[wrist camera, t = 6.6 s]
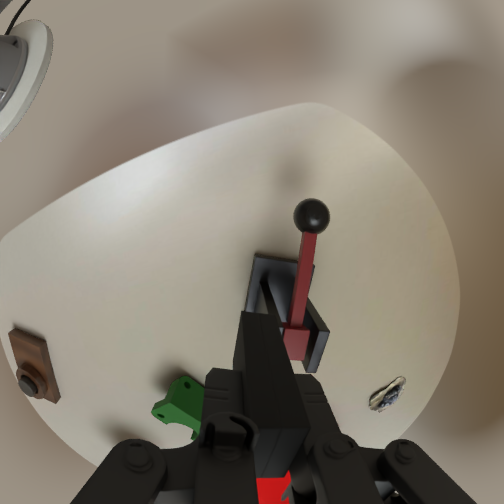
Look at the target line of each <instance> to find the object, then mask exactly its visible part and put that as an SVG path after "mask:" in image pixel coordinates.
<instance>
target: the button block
mask: <svg viewBox="0 0 504 504" xmlns="http://www.w3.org/2000/svg"><path fill="white" fill-rule="evenodd" d="M8 335H9V339H10V342H11V346H12V350H13V353H14V357H15V360H16V363H17V366H18V369H17V372H16V376H17V379H18V382H19V380H20V379H21V378H22V377H23V376H24V375H26V376H28V377H29V378H30V379H31V380H32V381H33V382H34V383H35V385H36V386H37V388H38V391H37V392H36V393H35V395H34V396H33V397H35V398H37V399H43V398H44V399H46V400H49V401H51V402H53V403H55V404H56V403H57V402H58V400H59V399H60V397H61V396H60V393H59V390H58V387H57V383H56V380H55V376H54V373H53V369H52V365H51V361H50V357H49V353H48V348H47V344H46V341H45V340H42V339H40V338H37V337H35V336H32V335H30V334H28V333H25V332H23V331H21V330H19V329H16V328H14V329H13V330H11V331H10V332H9V333H8Z"/></svg>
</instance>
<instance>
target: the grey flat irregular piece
mask: <svg viewBox="0 0 504 504" xmlns="http://www.w3.org/2000/svg"><path fill="white" fill-rule="evenodd" d="M405 382H406V379H405V378H402V377H400V378H398V379H397V380H396V381H395V382H392V383H391V384H390V386H389V387H388V388H386V390H384V391H381V393H379V394H376V395H375V396H374V397H372V398H371V400H370V401H371V402H370V406H371V407H370V409H371V410H373V409H374V411H376V410H378V412H379V413H380V412H382V411H383V410H385V409H387V408H389V407H390V406H391V405H392V404H394V402H395V401H396V400H397V399H399V397H400V396H401V394H402V391H403V390H404V385H405Z"/></svg>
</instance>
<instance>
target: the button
mask: <svg viewBox="0 0 504 504" xmlns="http://www.w3.org/2000/svg"><path fill="white" fill-rule="evenodd" d="M18 384H19V386H20V388H21V390H22V391H23V392H24V393H25V394H26V395H28V396H30V397H33V396H34V395H35V393H36V392H37V391H38V388H37V386H36V385H35V383H34V382H33V381H32V380H31V379H30V378H29V377H28V376H26V375H24V376H23V377H22V378H21V379H20V380H19V382H18Z"/></svg>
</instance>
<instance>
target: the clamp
mask: <svg viewBox="0 0 504 504" xmlns="http://www.w3.org/2000/svg"><path fill="white" fill-rule="evenodd" d="M204 389H205V388H203V387H202V386H201V385H199V384H198V383H196V382H195V381H194V380H192V379H191V378H190V377H188V376H182V377H180V378H179V379H177V380H175V381H173V382H172V384H171V386H170V388H169V390H168V393H167V395H166V397H165V399H163V400H161V401H159V402H157V403H155V405H154V407H153V409H152V411H151V413H152V415H153V416H154V417H156V418H157V419H159V420H160V421H162V422H163V423H165V424H168V423H179V424H183V425H186V426H188V427H190V428H192V429H193V434H192V437H191V439H192V440H195V439H196V438H197V436H198V435H199V431H200V425H201V416H202V406H203V397H204Z"/></svg>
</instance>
